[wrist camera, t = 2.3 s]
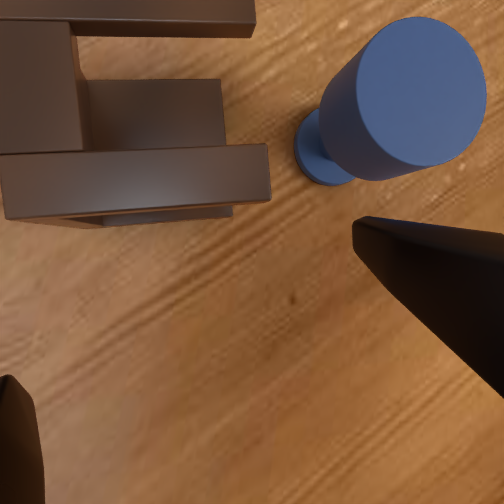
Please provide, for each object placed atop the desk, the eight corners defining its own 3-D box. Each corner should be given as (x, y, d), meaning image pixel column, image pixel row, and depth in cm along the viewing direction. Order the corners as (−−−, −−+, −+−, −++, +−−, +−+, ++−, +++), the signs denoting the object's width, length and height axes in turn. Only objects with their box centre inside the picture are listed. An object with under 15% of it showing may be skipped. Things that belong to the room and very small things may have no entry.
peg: (388, 139, 25) (511, 81, 16) (340, 211, 25) (438, 195, 16) (319, 81, 24) (409, -16, 15) (267, 156, 24) (327, 103, 14)
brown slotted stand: (218, 86, 23) (252, -37, 13) (230, 217, 23) (272, 200, 13) (69, 88, 21) (-30, -52, 11) (85, 229, 22) (4, 220, 11)
